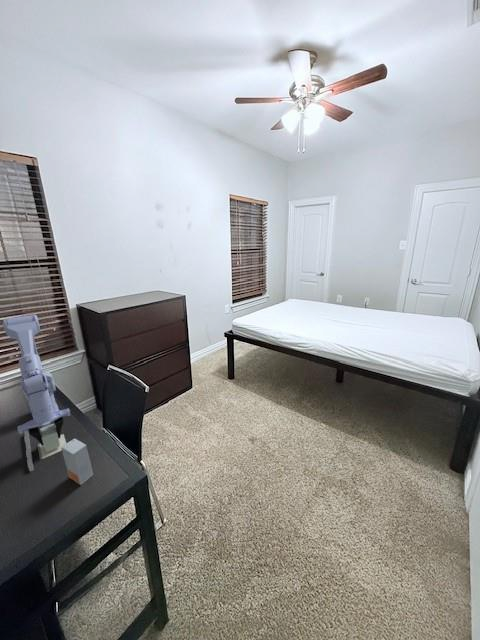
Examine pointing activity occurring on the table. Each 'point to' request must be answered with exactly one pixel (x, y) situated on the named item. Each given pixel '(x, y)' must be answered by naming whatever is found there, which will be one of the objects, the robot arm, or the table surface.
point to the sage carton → (50, 437)
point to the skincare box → (77, 461)
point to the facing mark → (45, 454)
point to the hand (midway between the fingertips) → (50, 440)
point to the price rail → (28, 451)
